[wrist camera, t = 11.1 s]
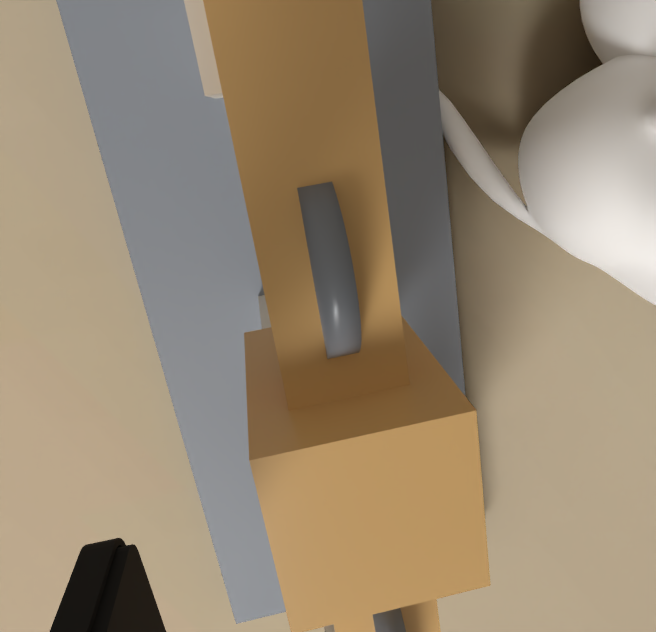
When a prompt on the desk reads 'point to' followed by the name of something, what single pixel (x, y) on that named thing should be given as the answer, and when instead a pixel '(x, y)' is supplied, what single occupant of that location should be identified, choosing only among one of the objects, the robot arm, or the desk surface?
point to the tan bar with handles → (340, 339)
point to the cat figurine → (588, 151)
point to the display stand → (245, 229)
